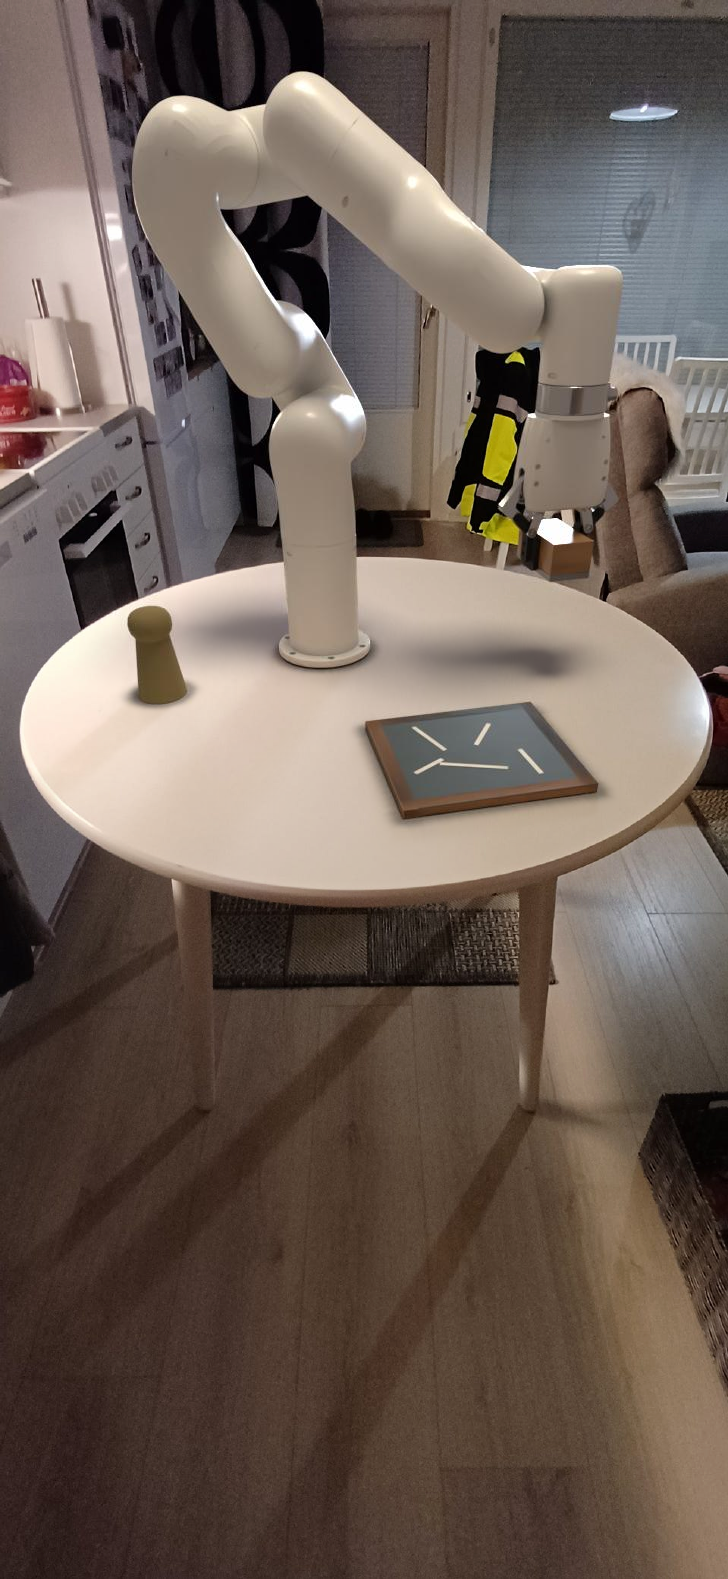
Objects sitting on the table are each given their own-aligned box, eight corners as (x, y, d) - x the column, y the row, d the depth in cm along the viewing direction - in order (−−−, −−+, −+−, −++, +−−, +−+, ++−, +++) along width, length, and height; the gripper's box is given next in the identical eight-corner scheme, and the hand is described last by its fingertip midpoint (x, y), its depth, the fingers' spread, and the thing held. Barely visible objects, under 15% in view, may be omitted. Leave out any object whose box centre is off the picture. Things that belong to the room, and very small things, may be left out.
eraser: (516, 556, 99) (519, 521, 96) (552, 553, 100) (557, 518, 97) (549, 582, 91) (553, 544, 88) (588, 578, 92) (594, 541, 89)
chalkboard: (365, 728, 89) (365, 720, 88) (529, 708, 92) (530, 701, 91) (403, 818, 74) (403, 810, 74) (597, 791, 77) (598, 783, 77)
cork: (175, 705, 95) (160, 620, 88) (130, 702, 96) (111, 617, 89) (194, 683, 99) (181, 601, 93) (150, 680, 101) (134, 599, 94)
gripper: (624, 393, 89) (600, 550, 100) (485, 400, 86) (475, 562, 97) (659, 402, 83) (629, 568, 94) (511, 410, 80) (497, 581, 91)
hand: (551, 563), depth 95 cm, fingers closed on eraser, 5 cm apart
